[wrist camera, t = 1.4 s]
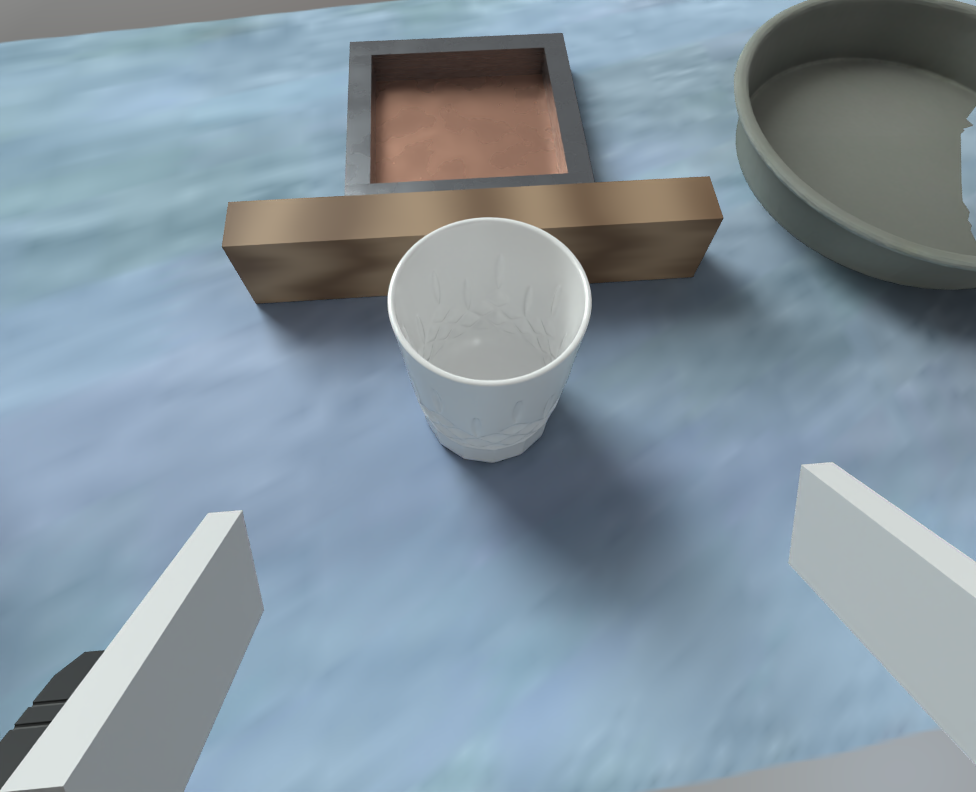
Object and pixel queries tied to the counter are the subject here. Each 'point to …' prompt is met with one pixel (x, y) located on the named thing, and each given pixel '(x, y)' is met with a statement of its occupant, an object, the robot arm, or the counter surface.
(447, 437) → the white cup
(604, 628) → the counter surface
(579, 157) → the square tray
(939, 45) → the cake pan
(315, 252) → the board
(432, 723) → the counter surface
